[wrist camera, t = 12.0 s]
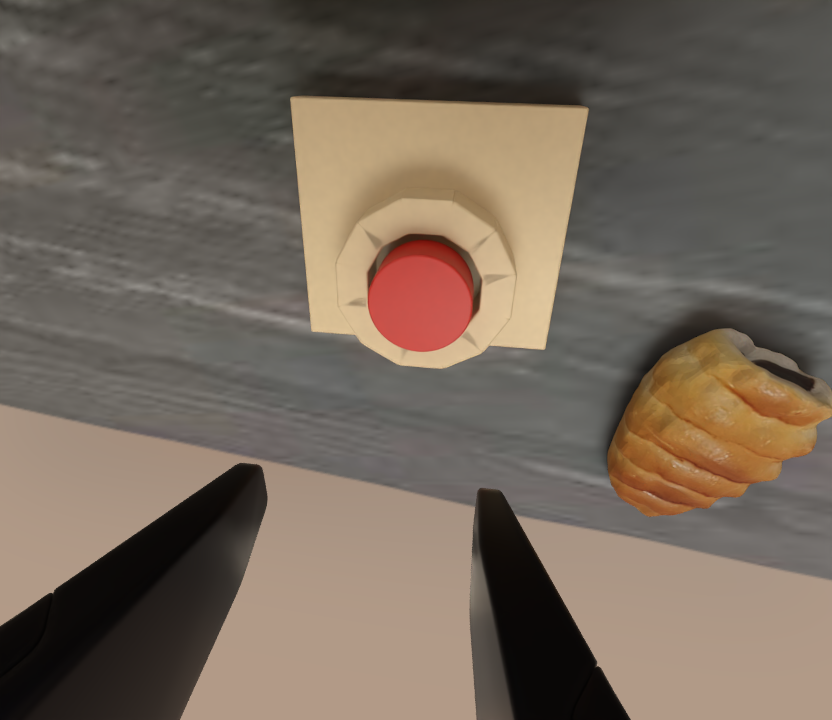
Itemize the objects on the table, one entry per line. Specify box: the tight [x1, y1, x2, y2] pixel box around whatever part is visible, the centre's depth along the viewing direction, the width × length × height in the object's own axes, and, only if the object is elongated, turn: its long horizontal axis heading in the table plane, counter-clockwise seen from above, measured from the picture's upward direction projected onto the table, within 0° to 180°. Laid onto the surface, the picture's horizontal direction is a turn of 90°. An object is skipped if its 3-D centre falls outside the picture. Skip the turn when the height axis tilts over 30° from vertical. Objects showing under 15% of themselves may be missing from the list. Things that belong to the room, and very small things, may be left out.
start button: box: [368, 240, 474, 352], centre depth 17 cm, size 4×4×2 cm
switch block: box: [290, 96, 589, 369], centre depth 18 cm, size 10×9×3 cm
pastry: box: [607, 328, 832, 517], centre depth 21 cm, size 9×7×4 cm
